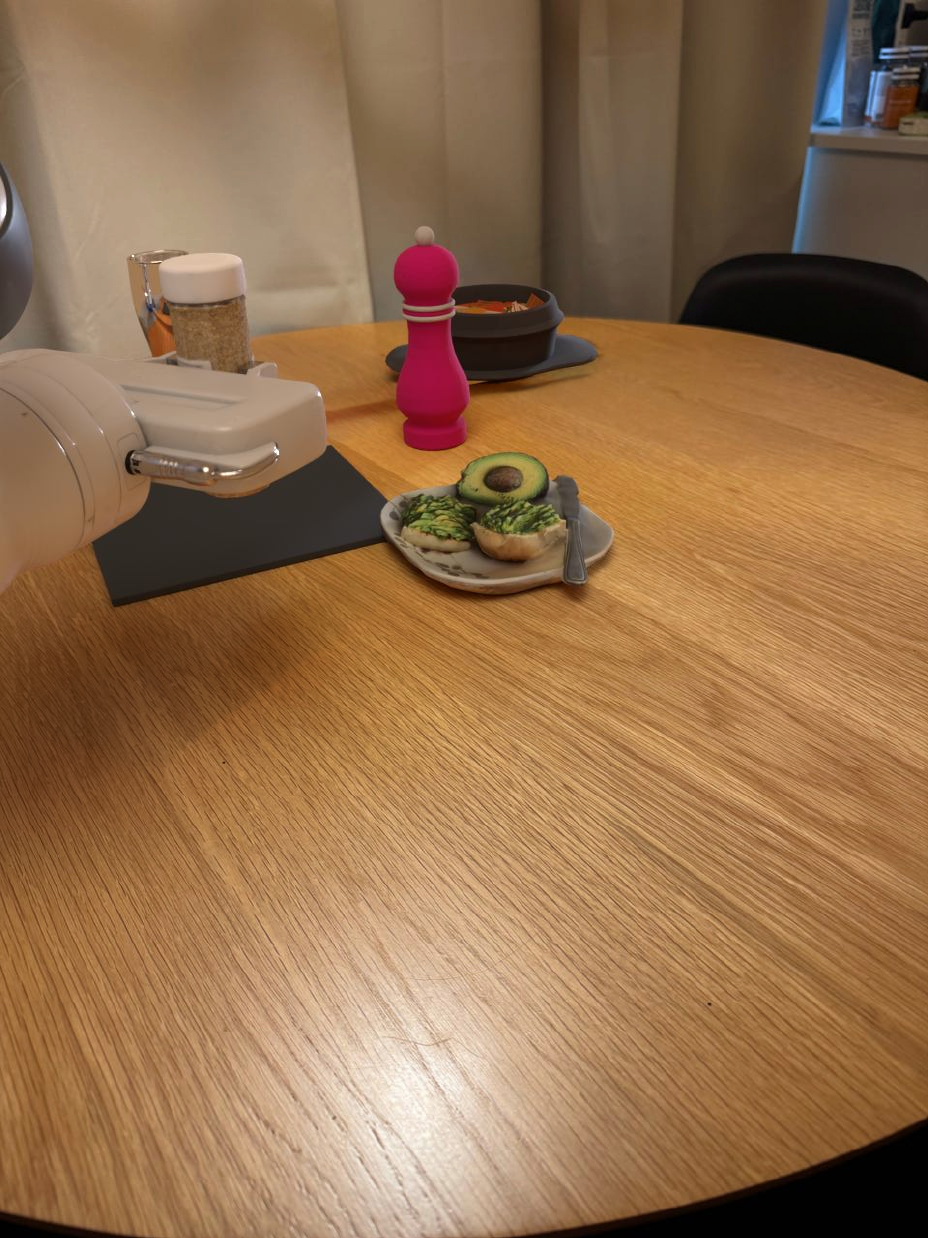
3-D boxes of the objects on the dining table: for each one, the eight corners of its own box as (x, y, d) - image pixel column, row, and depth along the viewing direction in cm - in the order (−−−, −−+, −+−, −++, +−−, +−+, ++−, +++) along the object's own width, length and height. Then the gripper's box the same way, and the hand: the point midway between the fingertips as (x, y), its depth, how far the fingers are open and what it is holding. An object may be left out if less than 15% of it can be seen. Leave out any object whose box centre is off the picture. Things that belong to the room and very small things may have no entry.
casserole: (579, 342, 124) (581, 274, 120) (613, 388, 108) (616, 311, 104) (383, 354, 122) (378, 285, 118) (389, 403, 107) (383, 325, 102)
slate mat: (113, 607, 71) (111, 600, 70) (77, 501, 87) (75, 495, 87) (416, 533, 79) (416, 527, 79) (331, 450, 95) (331, 444, 95)
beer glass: (181, 404, 109) (154, 264, 101) (139, 395, 112) (110, 258, 104) (226, 386, 113) (204, 251, 106) (184, 378, 117) (160, 246, 109)
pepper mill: (456, 456, 93) (447, 234, 82) (387, 448, 95) (369, 232, 85) (481, 429, 99) (475, 219, 88) (415, 423, 101) (402, 217, 90)
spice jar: (283, 491, 59) (251, 260, 52) (208, 506, 58) (166, 271, 51) (261, 465, 63) (230, 246, 56) (191, 479, 61) (149, 255, 54)
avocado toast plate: (676, 582, 71) (683, 525, 69) (452, 634, 65) (451, 575, 63) (552, 481, 86) (555, 432, 84) (361, 517, 80) (358, 465, 78)
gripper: (222, 416, 41) (378, 331, 52) (-114, 366, 49) (83, 301, 59) (244, 548, 44) (386, 443, 55) (-74, 483, 52) (106, 401, 62)
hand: (227, 369), depth 57 cm, fingers closed on spice jar, 4 cm apart
